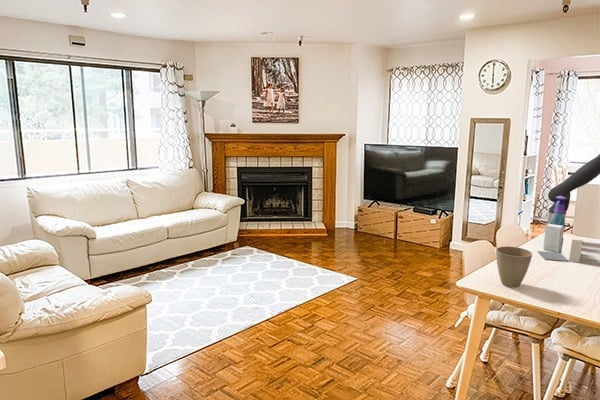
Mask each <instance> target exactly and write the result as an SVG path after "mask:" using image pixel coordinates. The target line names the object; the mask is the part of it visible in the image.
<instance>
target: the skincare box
mask: <svg viewBox="0 0 600 400" xmlns="http://www.w3.org/2000/svg"><path fill="white" fill-rule="evenodd" d="M563 230H565V229H564V226H561V225H554V224H547V223H546V225H545V227H544V238H543V239H544V241H543V250H542V251H547V252H556V253H561V252H562V241H563V238H564V231H563Z"/></svg>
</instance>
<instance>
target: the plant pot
mask: <svg viewBox="0 0 600 400" xmlns="http://www.w3.org/2000/svg"><path fill="white" fill-rule="evenodd" d="M495 256H496V257H495V258H496V265H497V271H498V276H499V279H500V282H501V284H502V285H503V286H505V287H508V288H518V287H520V286H521V284H522V282H523V280H524V279H525V276H526V274H527V272H528V270H529V267H530V264H531V260H532V257H533V252H532V251H530V250H528V249H525V248H522V247H518V246H508V245H507V246H506V245H505V246H498V247H496V249H495Z"/></svg>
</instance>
